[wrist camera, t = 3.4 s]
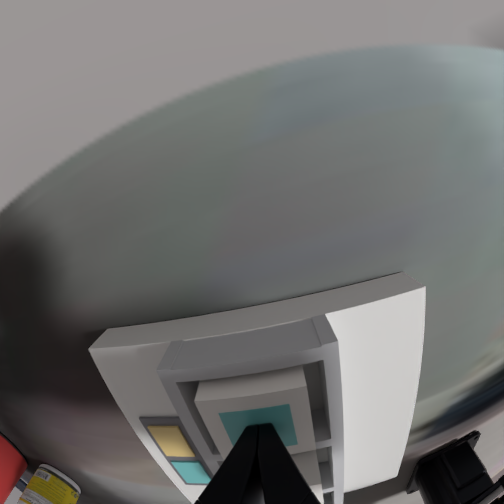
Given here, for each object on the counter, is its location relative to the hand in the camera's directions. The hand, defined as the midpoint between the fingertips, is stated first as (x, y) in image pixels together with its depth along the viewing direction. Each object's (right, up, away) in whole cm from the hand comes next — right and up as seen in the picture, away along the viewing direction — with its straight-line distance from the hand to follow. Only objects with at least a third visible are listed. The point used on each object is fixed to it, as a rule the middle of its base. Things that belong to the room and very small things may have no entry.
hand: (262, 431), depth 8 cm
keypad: (+1, -3, +5) cm, 6 cm away
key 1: (0, 0, +2) cm, 2 cm away
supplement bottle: (-21, -19, +10) cm, 30 cm away
